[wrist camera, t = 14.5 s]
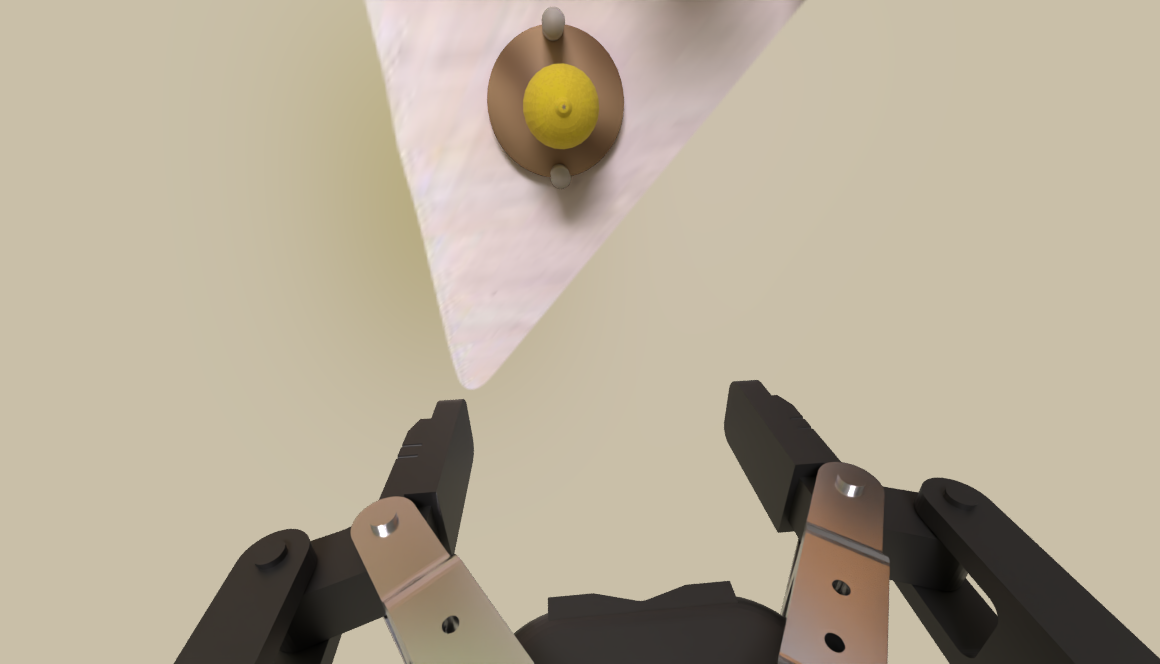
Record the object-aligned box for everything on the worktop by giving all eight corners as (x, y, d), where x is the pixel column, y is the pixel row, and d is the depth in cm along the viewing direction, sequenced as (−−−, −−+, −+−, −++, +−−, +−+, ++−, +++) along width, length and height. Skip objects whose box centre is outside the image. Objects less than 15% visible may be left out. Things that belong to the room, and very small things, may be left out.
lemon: (589, 148, 37) (601, 156, 30) (523, 142, 36) (519, 149, 29) (596, 72, 34) (610, 61, 27) (525, 65, 34) (521, 52, 27)
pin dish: (532, -9, 33) (531, -24, 29) (648, 84, 36) (659, 81, 32) (465, 127, 36) (456, 129, 33) (575, 200, 40) (578, 209, 36)
